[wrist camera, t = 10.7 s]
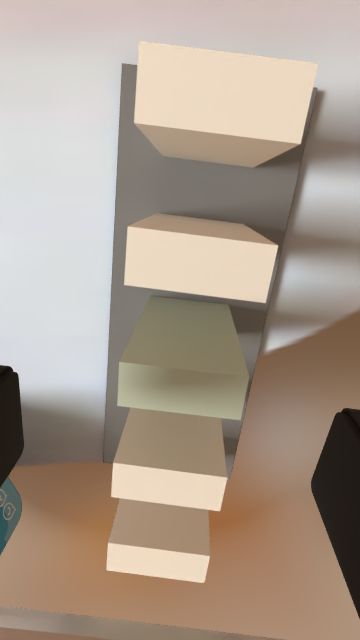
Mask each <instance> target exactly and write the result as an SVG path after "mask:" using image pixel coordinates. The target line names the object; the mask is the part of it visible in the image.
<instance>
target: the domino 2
mask: <svg viewBox="0 0 360 640" xmlns="http://www.w3.org/2000/svg"><path fill="white" fill-rule="evenodd" d="M277 249H278V245H277V244H275V243H273V242H272V241H270V240H268V239H267V238H265V237H264V236H262V235H260V234H259V233H257V232H255V231H254V230H252V229H251V228H249V227H247V226H246V225H244V224H240V223H232V222H224V221H216V220H208V219H200V218H193V217H185V216H177V215H169V214H161V213H157V214H155V215H152V216H150V217H148V218H145V219H143V220H141V221H139V222H136V223H134V224H132V225H130V226H128V228H127V245H126V261H125V277H124V285H128V286H136V287H144V288H151V289H159V290H167V291H175V292H183V293H190V294H198V295H206V296H214V297H222V298H229V299H237V300H245V301H253V302H261V303H266V299H267V295H268V290H269V286H270V281H271V277H272V272H273V268H274V263H275V258H276V254H277Z"/></svg>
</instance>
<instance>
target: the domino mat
mask: <svg viewBox="0 0 360 640" xmlns="http://www.w3.org/2000/svg"><path fill="white" fill-rule="evenodd" d="M137 66H138V65H131V64H123V63H122V75H121V96H120V117H119V138H118V158H117V179H116V200H115V221H114V242H113V263H112V284H111V305H110V326H109V347H108V367H107V388H106V409H105V430H104V451H103V462H104V463H112V464H113V461H114V458H115V455H116V452H117V449H118V446H119V442H120V439H121V436H122V433H123V430H124V427H125V423H126V420H127V417H128V414H129V411H130V408H131V407H123V406H117V400H118V377H119V361H120V359H121V357H122V355H123V353H124V351H125V348H126V346H127V344H128V342H129V340H130V338H131V336H132V334H133V331H134V329H135V327H136V325H137V323H138V321H139V319H140V316H141V314H142V312H143V310H144V308H145V306H146V304H147V302H148V299H149V297H150V296H156V297H164V298H173V299H182V300H191V301H199V302H208V303H217V304H226V305H229V308H230V311H231V315H232V318H233V322H234V325H235V329H236V332H237V336H238V339H239V343H240V346H241V350H242V353H243V357H244V360H245V364H246V367H247V371H248V374H249V381H248V386H247V391H246V396H245V401H244V406H243V411H242V416H241V420H234V419H225V418H221V423H222V433H223V442H224V451H225V461H226V470H227V479H230V477H231V472H232V468H233V463H234V459H235V454H236V450H237V445H238V441H239V437H240V432H241V428H242V423H243V419H244V414H245V410H246V405H247V401H248V396H249V392H250V387H251V383H252V378H253V374H254V369H255V365H256V361H257V356H258V352H259V347H260V343H261V338H262V334H263V329H264V325H265V321H266V316H267V312H268V307H269V303H270V298H271V294H272V289H273V285H274V280H275V276H276V271H277V267H278V262H279V258H280V254H281V249H282V245H283V240H284V236H285V231H286V227H287V222H288V218H289V213H290V209H291V204H292V200H293V195H294V191H295V187H296V182H297V178H298V173H299V169H300V164H301V160H302V155H303V151H304V146H305V142H306V137H307V133H308V128H309V124H310V120H311V115H312V111H313V106H314V102H315V97H316V93H317V88H314V87H313V90H312V95H311V99H310V104H309V108H308V113H307V117H306V122H305V127H304V131H303V136H302V140H301V144H300V145H298V146H296V147H294V148H292V149H290V150H288V151H286V152H284V153H282V154H280V155H278V156H276V157H274V158H272V159H270V160H268V161H266V162H264V163H262V164H260V165H258V166H256V167H254V168H252V167H244V166H236V165H228V164H220V163H212V162H204V161H196V160H189V159H181V158H173V157H165V156H162V155H161V153H160V152H159V151H158V150H157V149H156V148H155V147H154V145H153V144H152V143H151V142H150V141H149V140H148V138H147V137H146V136H145V135H144V134H143V133H142V132H141V130H140V129H139V128H138V127H137V126H136V125H135V124H134V115H135V98H136V82H137ZM157 213H161V214H169V215H177V216H185V217H193V218H200V219H208V220H216V221H224V222H232V223H240V224H244V225H246V226H247V227H249V228H251V229H252V230H254V231H255V232H257V233H259V234H260V235H262V236H264V237H265V238H267V239H268V240H270V241H272V242H273V243H275V244H277V245H278V249H277V254H276V258H275V263H274V268H273V272H272V277H271V281H270V286H269V290H268V295H267V299H266V303H261V302H253V301H245V300H237V299H229V298H222V297H214V296H206V295H198V294H190V293H183V292H175V291H167V290H159V289H151V288H144V287H136V286H128V285H124V277H125V261H126V245H127V228H128V226H130V225H132V224H134V223H136V222H139V221H141V220H143V219H145V218H148V217H150V216H152V215H155V214H157Z"/></svg>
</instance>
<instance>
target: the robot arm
mask: <svg viewBox="0 0 360 640" xmlns="http://www.w3.org/2000/svg"><path fill="white" fill-rule="evenodd" d="M23 447H24V439H23V427H22V415H21V402H20V390H19V378H18V374H17V373H16V372H13V369H12V368H11V367H10V366H2V365H0V488H1V486H2V485H3V483H4V482H5V480H6V478H7V477H8V475H9V474H10V472H11V470H12V469H13V467H14V466H15V464H16V463H17V461H18V460H19V458H20V456H21V454H22V451H23ZM311 488H312V493H313V496H314V499H315V501H316V504H317V506H318V509H319V512H320V514H321V517H322V520H323V523H324V525H325V528H326V531H327V533H328V535H329V539H330V541H331V544H332V546H333V549H334V552H335V554H336V557H337V560H338V562H339V565H340V568H341V570H342V573H343V576H344V578H345V581H346V584H347V586H348V589H349V592H350V594H351V597H352V600H353V602H354V605H355V607H356V610H357V613H358V616H359V618H360V410H357V409H349V408H345V409H343V410H342V411H341V412H338V413H337V414H336V415H335V417H334V420H333V423H332V426H331V428H330V431H329V433H328V436H327V439H326V442H325V445H324V447H323V450H322V453H321V455H320V458H319V461H318V464H317V466H316V469H315V472H314V474H313V477H312V481H311ZM0 640H281V639H274V638H266V637H258V636H249V635H242V634H234V633H226V632H217V631H209V630H201V629H193V628H184V627H176V626H168V625H160V624H151V623H143V622H135V621H126V620H118V619H109V618H101V617H92V616H84V615H75V614H67V613H58V612H49V611H41V610H32V609H22V608H13V607H5V606H0Z"/></svg>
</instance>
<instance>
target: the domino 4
mask: <svg viewBox="0 0 360 640" xmlns="http://www.w3.org/2000/svg"><path fill="white" fill-rule="evenodd" d="M226 481H227V470H226V461H225V451H224V442H223V433H222V423H221V418H217V417H208V416H200V415H191V414H183V413H174V412H166V411H157V410H148V409H140V408H130V411H129V414H128V417H127V420H126V423H125V427H124V430H123V433H122V436H121V439H120V442H119V446H118V449H117V452H116V455H115V458H114V461H113V472H112V489H111V497H115V498H122V499H130V500H138V501H145V502H153V503H161V504H168V505H176V506H184V507H191V508H199V509H207V510H214V511H220V509H221V504H222V500H223V495H224V490H225V486H226Z"/></svg>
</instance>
